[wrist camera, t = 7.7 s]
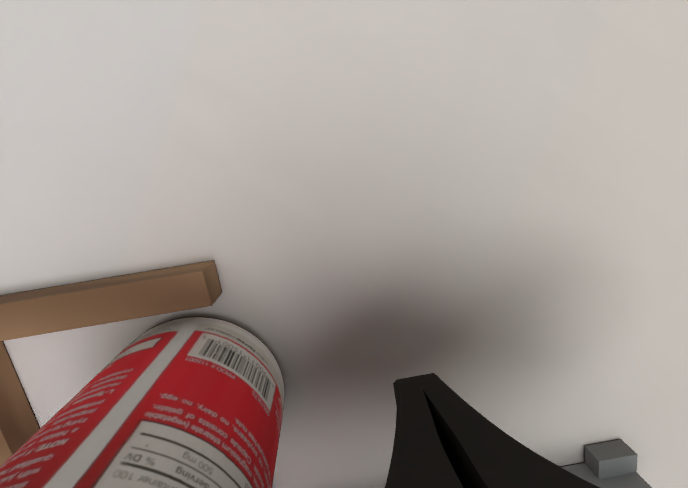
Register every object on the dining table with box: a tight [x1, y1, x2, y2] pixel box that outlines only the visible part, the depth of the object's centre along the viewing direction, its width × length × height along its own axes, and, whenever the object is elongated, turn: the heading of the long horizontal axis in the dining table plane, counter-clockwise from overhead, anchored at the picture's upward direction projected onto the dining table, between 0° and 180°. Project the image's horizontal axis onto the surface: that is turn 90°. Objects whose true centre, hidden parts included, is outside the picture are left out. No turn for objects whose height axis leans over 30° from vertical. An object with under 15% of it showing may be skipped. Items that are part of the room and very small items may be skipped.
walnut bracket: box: [0, 260, 222, 466], centre depth 13 cm, size 10×9×1 cm
